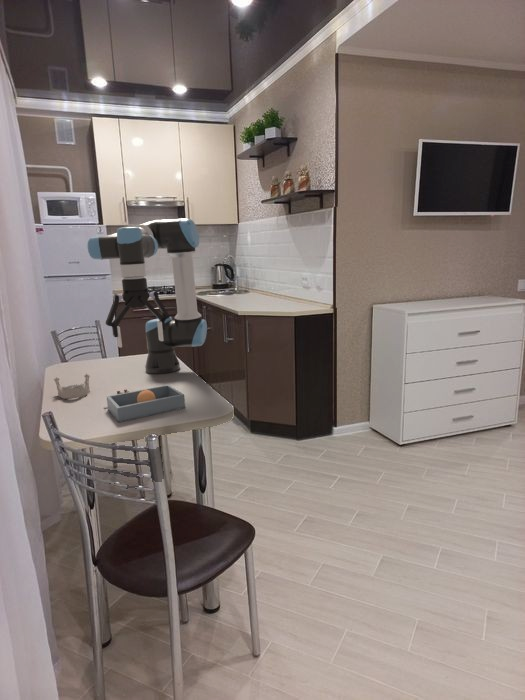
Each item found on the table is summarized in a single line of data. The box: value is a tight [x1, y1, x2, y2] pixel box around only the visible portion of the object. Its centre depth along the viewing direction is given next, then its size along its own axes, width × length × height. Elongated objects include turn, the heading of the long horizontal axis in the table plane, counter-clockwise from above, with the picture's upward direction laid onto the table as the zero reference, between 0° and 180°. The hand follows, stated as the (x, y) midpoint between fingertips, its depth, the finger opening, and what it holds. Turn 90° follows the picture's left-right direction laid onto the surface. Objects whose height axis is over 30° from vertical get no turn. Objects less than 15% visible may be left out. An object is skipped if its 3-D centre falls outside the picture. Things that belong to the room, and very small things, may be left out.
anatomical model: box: [53, 373, 91, 400], centre depth 172 cm, size 13×11×10 cm
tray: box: [106, 384, 186, 423], centre depth 154 cm, size 22×15×5 cm
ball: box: [137, 390, 156, 403], centre depth 153 cm, size 6×6×6 cm
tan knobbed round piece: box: [116, 388, 130, 394], centre depth 164 cm, size 4×4×3 cm
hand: (141, 343), depth 149 cm, fingers open, 13 cm apart
